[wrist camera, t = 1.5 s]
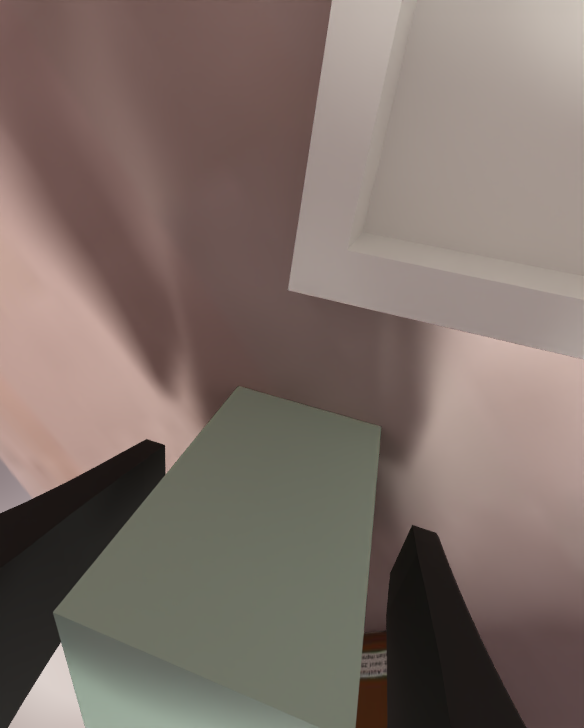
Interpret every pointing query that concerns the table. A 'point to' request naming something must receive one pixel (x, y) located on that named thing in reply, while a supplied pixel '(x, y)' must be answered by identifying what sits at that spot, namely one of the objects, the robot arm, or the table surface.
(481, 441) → the table surface
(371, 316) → the table surface
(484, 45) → the bin
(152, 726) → the green block
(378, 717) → the food container
